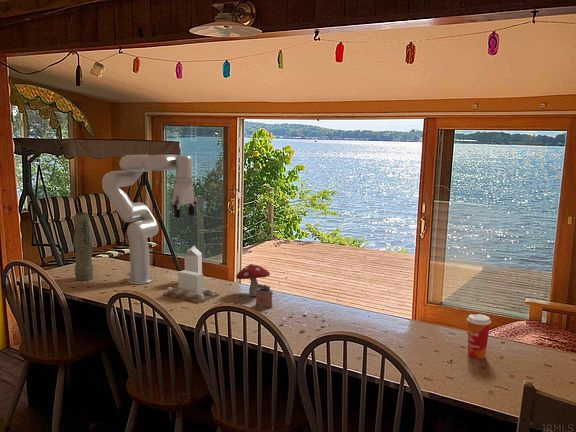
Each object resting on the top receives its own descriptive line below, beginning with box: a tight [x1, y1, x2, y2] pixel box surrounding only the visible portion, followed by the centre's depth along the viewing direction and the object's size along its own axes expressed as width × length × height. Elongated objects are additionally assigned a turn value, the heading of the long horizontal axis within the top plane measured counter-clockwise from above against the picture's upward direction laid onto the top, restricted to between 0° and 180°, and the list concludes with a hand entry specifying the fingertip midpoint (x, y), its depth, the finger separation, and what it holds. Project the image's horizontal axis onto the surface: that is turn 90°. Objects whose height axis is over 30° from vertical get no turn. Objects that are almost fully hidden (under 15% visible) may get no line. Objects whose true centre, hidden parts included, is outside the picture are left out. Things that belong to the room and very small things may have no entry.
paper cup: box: [466, 313, 492, 360], centre depth 172 cm, size 8×8×14 cm
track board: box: [163, 286, 219, 304], centre depth 237 cm, size 22×14×3 cm, turn 58°
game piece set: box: [280, 309, 329, 332], centre depth 203 cm, size 19×20×4 cm
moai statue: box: [72, 212, 94, 282], centre depth 261 cm, size 9×12×35 cm
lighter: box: [255, 283, 273, 310], centre depth 222 cm, size 8×3×10 cm, turn 65°
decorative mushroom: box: [235, 263, 271, 297], centre depth 238 cm, size 16×16×15 cm
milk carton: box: [184, 245, 203, 274], centre depth 257 cm, size 7×7×19 cm
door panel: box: [177, 269, 204, 295], centre depth 236 cm, size 12×4×10 cm, turn 58°
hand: (184, 216), depth 243 cm, fingers open, 9 cm apart
